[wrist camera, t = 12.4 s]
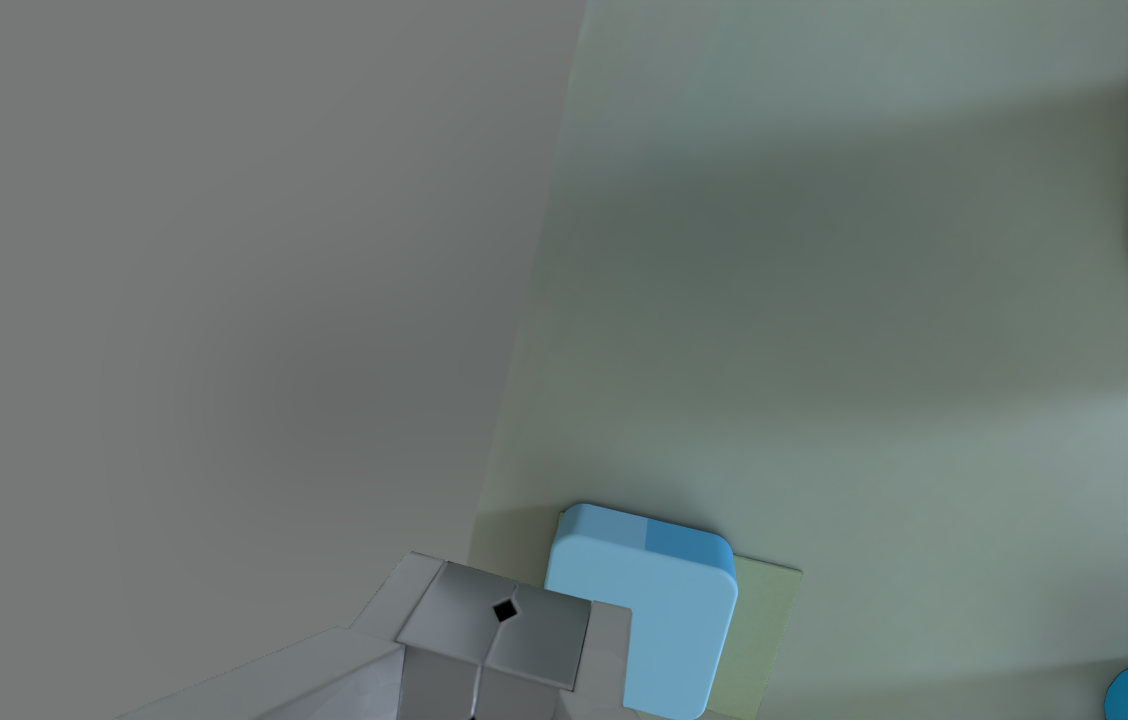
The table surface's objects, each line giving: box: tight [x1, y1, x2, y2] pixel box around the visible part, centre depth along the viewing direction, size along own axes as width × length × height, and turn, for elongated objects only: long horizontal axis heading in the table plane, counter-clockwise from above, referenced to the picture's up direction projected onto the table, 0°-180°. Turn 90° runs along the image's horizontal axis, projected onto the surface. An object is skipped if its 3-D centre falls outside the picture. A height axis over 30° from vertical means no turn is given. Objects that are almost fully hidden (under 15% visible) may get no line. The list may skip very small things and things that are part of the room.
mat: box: [556, 512, 803, 720], centre depth 46 cm, size 17×13×1 cm
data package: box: [544, 504, 738, 720], centre depth 43 cm, size 12×4×12 cm
